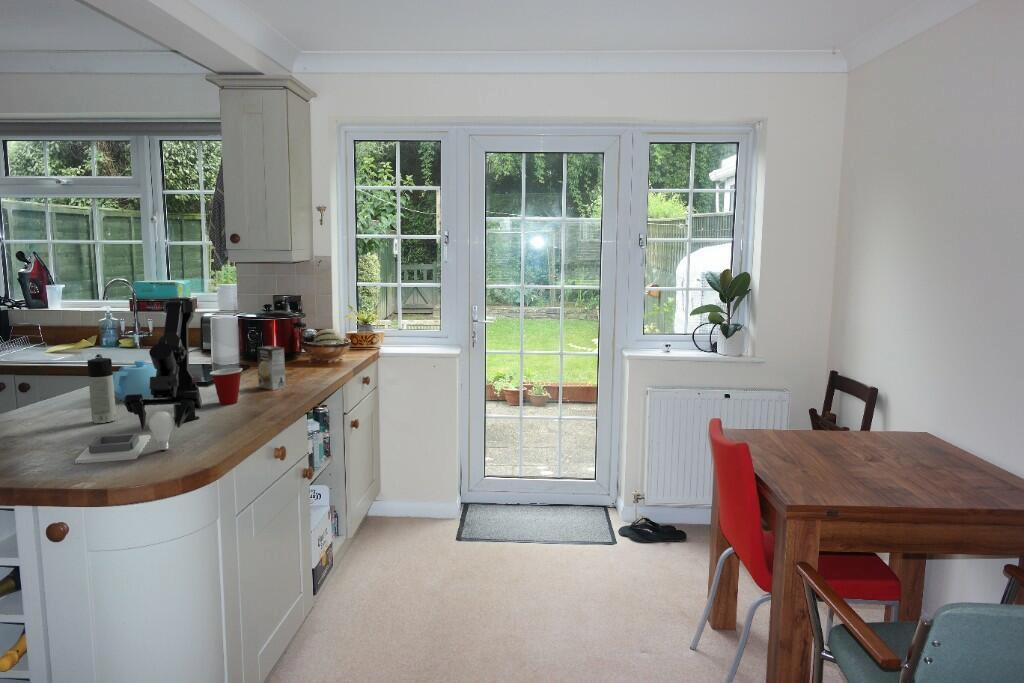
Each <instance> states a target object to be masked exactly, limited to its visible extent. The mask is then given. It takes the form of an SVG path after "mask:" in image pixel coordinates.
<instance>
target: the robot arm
mask: <svg viewBox="0 0 1024 683" xmlns="http://www.w3.org/2000/svg"><path fill="white" fill-rule="evenodd" d="M163 310H164V311H163V312H164V313H165V314H166V315H165V321H164V329H163V335H162V336H160V338H158V340H157V341H156V344H155V345H153V346H151V348H150V349H149V352H148V354H149V356H150V360H151V362H152V363H151V364H153V366H154V368H155V369H157V370H156V377H150V386H149V389H151V395H153V398H143V397H142V394H127V395H126V396H125V398H124V401H123V403H124V406H125V408H126V410H127V412H128V413H131V414H134V415H135V416H136V415H137V416H138V419H139V422H140V426H141V429H142V431H145V429H146V420H147V411H146V406H159V405H160V406H169V405H170V406H171V405H173V417H174V421H175V422H177V423H176V425H177V428H178V429H179V428H180V427H182V425H183V423H184V422H185V423H186V422H189V421H193V420H198V419H200V416H199V415H196V410H200V409H201V408H202V405H203V402H202V397H201V394H200V388H199V386H198V385H197V382H195V377H194V375H193V374H192V373H191V371H190V362H189V361H190V358H189V357H190V356H189V354H190V353H189V349H190V348H189V325H190V324H191V322H192V321H193V319H194V313H195V312H196V302H195V301H194V300H192V299H191V297H169V298H168V300H166V301H163Z"/></svg>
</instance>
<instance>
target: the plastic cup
mask: <svg viewBox="0 0 1024 683" xmlns="http://www.w3.org/2000/svg"><path fill="white" fill-rule="evenodd" d="M242 372H243V368H242V367H231V368H221V369H217V370H214V371H210V372H209V375H211V378H212V380H213V383H214V387H215V390H216V394H217V397H218V401H219V404H220V405H223V406H224V405H226V406H227V405H228V406H229V405H234V404H237V403H238V400H239V393H240V385H241V377H242Z"/></svg>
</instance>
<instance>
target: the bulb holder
mask: <svg viewBox="0 0 1024 683" xmlns="http://www.w3.org/2000/svg"><path fill="white" fill-rule="evenodd" d="M151 438H152V437H151V434H145V435H139V434H138V432H137V433H125V434H123V433H122V434H112V435H111V434H109V435H100V436H98V437H96V438H94V439H93V440H92V441H91V442H90V443H89V444H88V446H87V447H86V448H85V449H84V450H83V451H82V453H80V454H79V456H77V458H75V459H74V464H75V465H79V463H81V464H91V463H103V462H116V461H128V460H129V461H130V460H136V459H138V457H139V456H140V454H142V452H143V450H144V449H143V448H145V447H146V446H147V445H148V443H149V441H150V440H151ZM149 439H150V440H149ZM147 442H148V443H147ZM145 445H146V446H145ZM77 463H78V464H77Z"/></svg>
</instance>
